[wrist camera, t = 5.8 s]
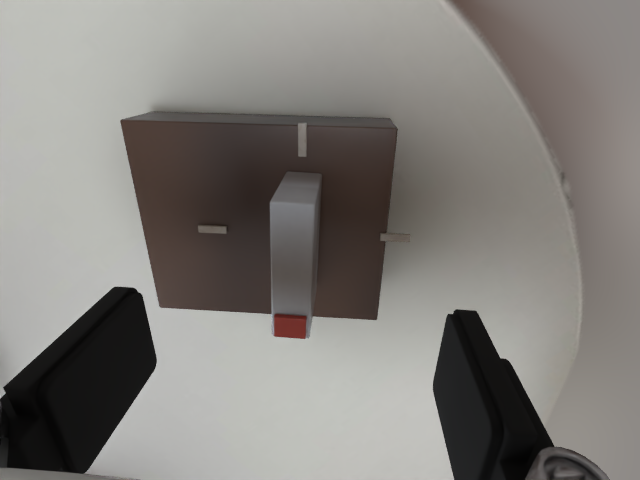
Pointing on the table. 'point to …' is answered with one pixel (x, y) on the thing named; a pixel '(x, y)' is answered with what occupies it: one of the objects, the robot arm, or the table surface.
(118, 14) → the table surface
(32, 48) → the table surface
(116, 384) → the robot arm
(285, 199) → the grey rectangular block
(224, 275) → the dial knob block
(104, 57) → the table surface
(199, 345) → the table surface
